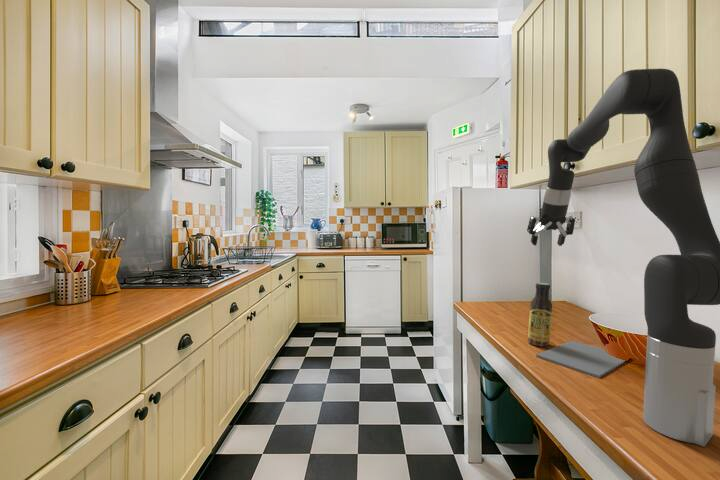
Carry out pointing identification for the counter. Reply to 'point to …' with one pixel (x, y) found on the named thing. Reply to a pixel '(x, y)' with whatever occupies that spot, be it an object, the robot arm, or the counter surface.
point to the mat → (582, 358)
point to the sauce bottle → (540, 316)
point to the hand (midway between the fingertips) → (546, 244)
